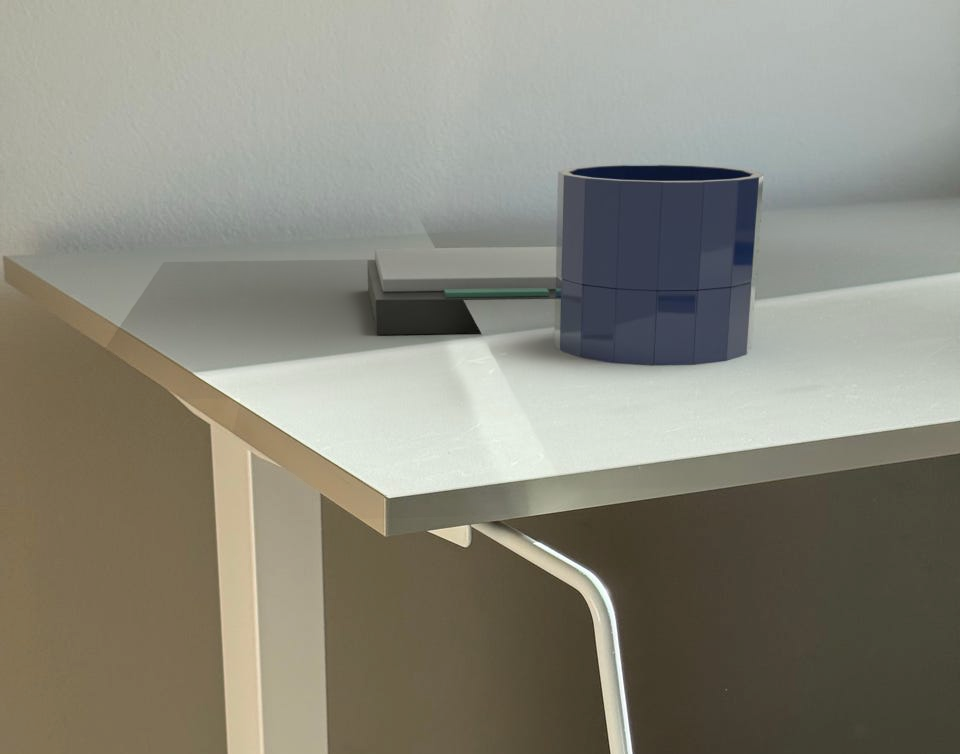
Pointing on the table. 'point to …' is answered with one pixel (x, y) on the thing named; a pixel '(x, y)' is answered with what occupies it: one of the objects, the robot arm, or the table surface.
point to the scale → (452, 285)
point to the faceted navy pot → (656, 262)
